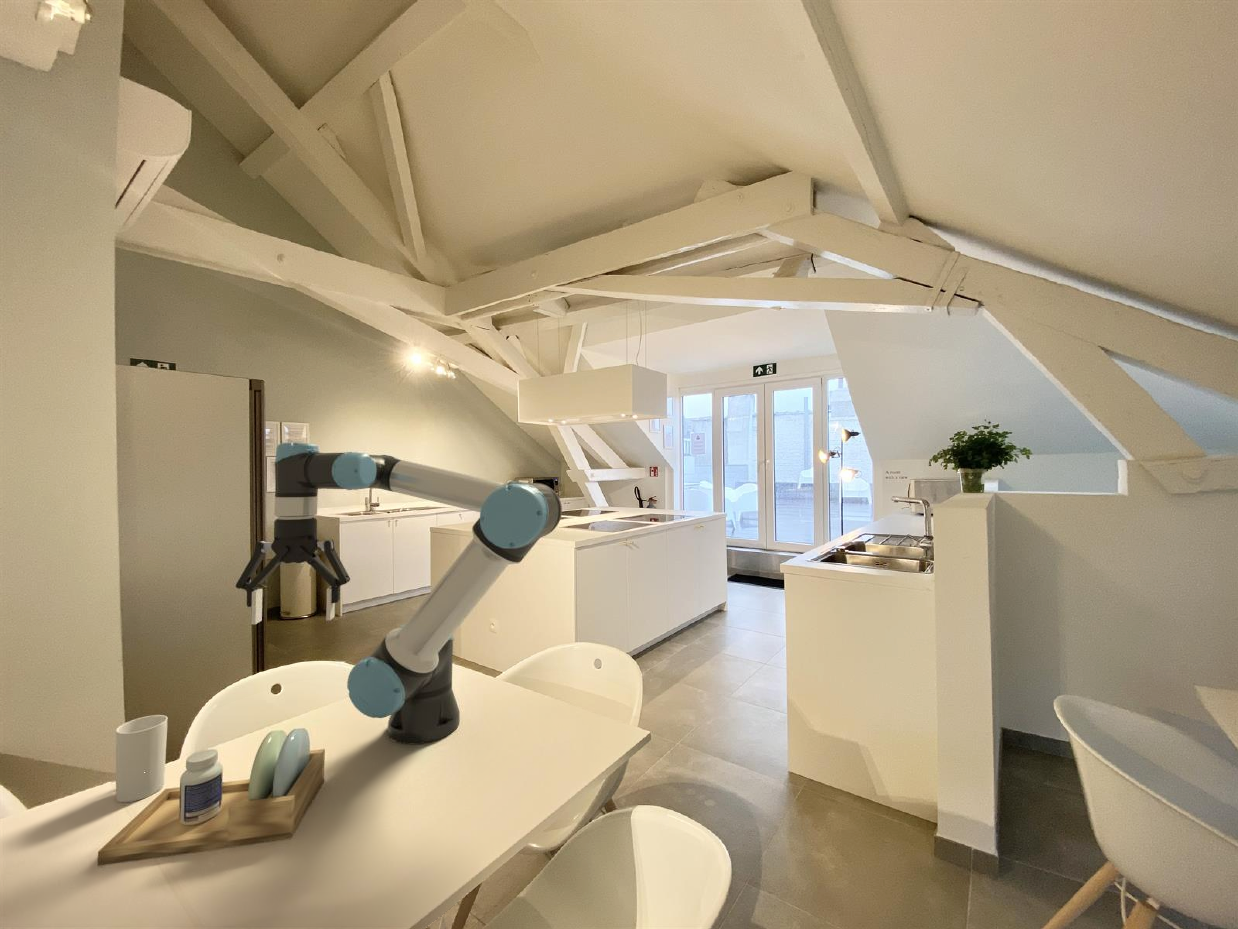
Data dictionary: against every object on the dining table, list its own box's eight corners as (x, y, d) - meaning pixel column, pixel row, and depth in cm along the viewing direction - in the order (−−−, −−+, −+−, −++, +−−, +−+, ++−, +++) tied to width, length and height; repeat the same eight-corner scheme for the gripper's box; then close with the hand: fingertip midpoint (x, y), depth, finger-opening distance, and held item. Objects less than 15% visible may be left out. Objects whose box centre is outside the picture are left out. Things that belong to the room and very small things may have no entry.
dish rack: (324, 781, 93) (324, 749, 93) (290, 838, 78) (291, 800, 79) (165, 800, 87) (166, 765, 88) (97, 865, 73) (98, 823, 73)
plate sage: (288, 785, 90) (289, 717, 91) (256, 831, 79) (257, 753, 79) (280, 786, 90) (282, 718, 90) (247, 832, 78) (249, 754, 79)
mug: (151, 800, 88) (153, 730, 88) (103, 807, 86) (105, 735, 86) (183, 768, 97) (185, 705, 98) (141, 773, 95) (143, 709, 96)
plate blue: (309, 782, 91) (310, 715, 91) (280, 827, 80) (282, 751, 80) (301, 783, 91) (303, 716, 91) (272, 829, 79) (273, 751, 80)
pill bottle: (229, 808, 84) (231, 749, 84) (193, 830, 79) (195, 767, 79) (207, 802, 86) (209, 744, 86) (170, 822, 81) (172, 760, 81)
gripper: (366, 515, 111) (364, 612, 110) (236, 516, 105) (234, 619, 104) (356, 518, 103) (354, 622, 103) (216, 519, 98) (213, 629, 97)
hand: (294, 620), depth 104 cm, fingers open, 13 cm apart
